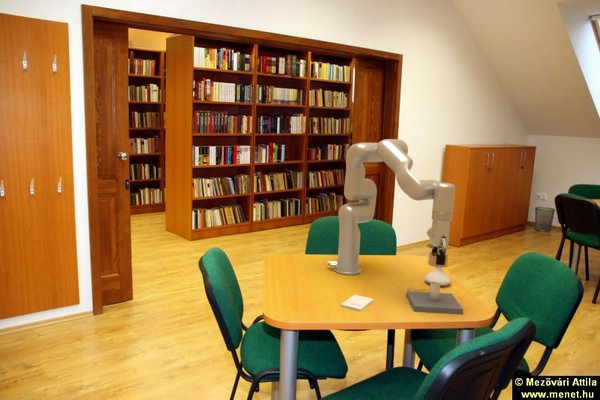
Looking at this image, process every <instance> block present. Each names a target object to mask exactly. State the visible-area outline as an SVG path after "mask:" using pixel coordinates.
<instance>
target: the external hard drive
mask: <svg viewBox="0 0 600 400" xmlns="http://www.w3.org/2000/svg"><path fill="white" fill-rule="evenodd" d="M372 303H374V298H371V297H367V296H361V295H359V294H353V295H352V296H351V297H349V298H348V299H346V300H345V301H344V302H342V303H341V304H340V307H341V308H346V309H350V310H352V311H356V312H362V311H363V310H364V309H366V308H367V307H369V305H371V304H372Z"/></svg>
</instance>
